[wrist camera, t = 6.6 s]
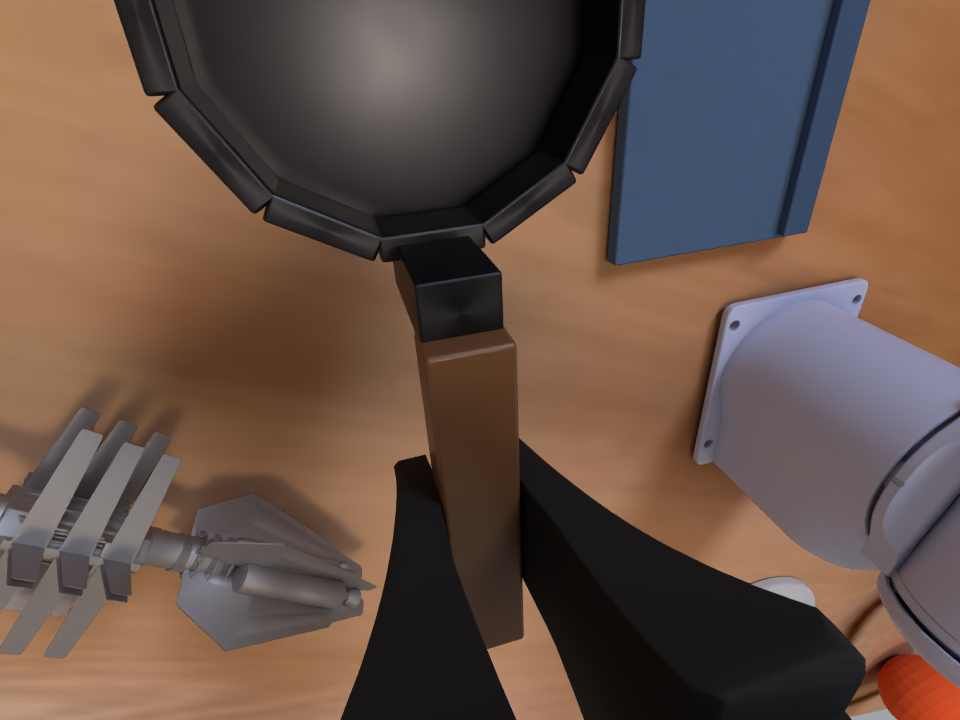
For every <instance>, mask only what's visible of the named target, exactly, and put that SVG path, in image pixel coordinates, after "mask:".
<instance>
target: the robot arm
mask: <svg viewBox="0 0 960 720" xmlns="http://www.w3.org/2000/svg"><path fill="white" fill-rule="evenodd" d="M867 289H868V282H867V281H866V280H863V279H861V278H855V279H850V280H845V281H840V282H835V283H830V284H825V285H820V286H815V287H810V288H805V289H800V290H795V291H790V292H785V293H780V294H776V295H771V296H766V297H761V298H756V299H751V300H746V301H741V302H736V303H732V304H730V305H729V306H727V307H726V308H725V310H724V311H723V314H722V318H721V323H720V328H719V333H718V338H717V343H716V347H715V352H714V357H713V362H712V367H711V372H710V376H709V381H708V386H707V391H706V396H705V401H704V405H703V410H702V415H701V420H700V425H699V430H698V435H697V439H696V444H695V449H694V454H693V459H694V461H695V462H696V463H697V464H699V465H702V464H707V463H710V462H714V463H715V464H716V465H717V466H718V467H719V468H720V469H721V470H722V471H723V472H724V473H725V474H726V475H727V476H728V477H729V478H730V479H731V480H732V481H733V482H734V483H735V484H736V485H737V486H738V487H739V488H740V489H741V490H742V491H743V492H744V493H745V494H746V495H747V496H748V497H749V498H750V499H751V500H752V501H753V502H754V503H755V504H756V505H757V506H758V507H759V508H760V509H761V510H762V511H763V512H764V513H765V514H766V515H767V516H768V517H769V518H770V519H771V520H772V521H773V522H774V523H775V524H776V525H777V526H778V527H779V528H780V529H781V530H782V531H783V532H784V533H785V534H786V535H787V536H788V537H789V538H791V539H792V540H793V541H794V542H795V543H796V544H798V545H799V546H801V547H802V548H804V549H805V550H807V551H808V552H810V553H812V554H814V555H815V556H817V557H820V558H822V559H824V560H826V561H828V562H831V563H833V564H836V565H839V566H842V567H845V568H850V569H856V570H869V571H870V570H881V573H880V575H879V576H878V580H877V588H878V592H879V596H880V598H881V600H882V602H883V605H884V607H885V608H886V610H887V612H888V613H889V615H890V617H891V619H892V621H893V623H894V625H895V626H896V628H897V629H898V631H899V632H900V633H901V635H902V636H903V637H904V638H905V640H906V641H907V642H908V643H909V644H910V645H911V647H912V648H913V649H914V650H915V651H916V652H917V653H918V654H919V655H920V656H921V657H922V658H923V659H924V660H925V661H926V662H927V663H928V664H930V665H931V666H932V667H933V668H934V669H935V670H936V671H938V672H939V673H940V674H941V675H942V676H944V677H945V678H946V679H947V680H949V681H950V682H951V683H953V684H954V685H955V686H957V687H958V688H960V368H959V367H957V366H955V365H953V364H951V363H949V362H947V361H945V360H943V359H941V358H939V357H937V356H935V355H933V354H931V353H929V352H927V351H925V350H922V349H920V348H918V347H916V346H914V345H912V344H910V343H908V342H906V341H904V340H902V339H900V338H898V337H896V336H894V335H892V334H890V333H888V332H886V331H884V330H882V329H880V328H878V327H875V326H873V325H871V324H869V323H867V322H865V321H863V320H861V319H859V318H857V317H858V314H859V311H860V309H861V306H862V303H863V300H864V297H865V294H866V292H867ZM732 322H733V324H732ZM731 324H732V325H731ZM730 325H731V326H730ZM394 469H395V475H396V483H397V500H396V515H395V525H394V534H393V542H392V548H391V553H390V559H389V564H388V570H387V575H386V580H385V584H384V589H383V593H382V597H381V601H380V605H379V608H378V612H377V616H376V620H375V623H374V626H373V630H372V633H371V636H370V639H369V643H368V646H367V649H366V652H365V655H364V658H363V661H362V664H361V667H360V670H359V673H358V675H357V678H356V681H355V683H354V686H353V688H352V691H351V694H350V696H349V699H348V702H347V704H346V707H345V709H344V712H343V715H342V717H341V720H516V718H515V716H514V713H513V711H512V709H511V706H510V704H509V702H508V699H507V697H506V695H505V692H504V690H503V688H502V685H501V683H500V681H499V678H498V676H497V673H496V671H495V668H494V666H493V663H492V661H491V658H490V656H489V653H488V651H487V648H486V646H485V643H484V641H483V639H482V636H481V633H480V631H479V628H478V626H477V623H476V620H475V618H474V615H473V612H472V610H471V607H470V605H469V602H468V599H467V597H466V594H465V591H464V588H463V586H462V583H461V580H460V577H459V575H458V572H457V569H456V566H455V563H454V560H453V556H452V553H451V549H450V545H449V540H448V536H447V531H446V526H445V522H444V517H443V513H442V508H441V503H440V499H439V494H438V491H437V488H436V485H435V482H434V479H433V473H432V469H431V466H430V464H429V462H428V460H427V457H426V455H422V456H418V457H414V458H409V459H405V460H401V461H398V462H397V463H396V464H395V466H394ZM519 470H520V510H521V549H522V578H523V580H524V582H525V584H526V586H527V588H528V590H529V592H530V594H531V596H532V597H533V599H534V601H535V603H536V605H537V607H538V609H539V611H540V613H541V615H542V617H543V619H544V621H545V623H546V625H547V627H548V630H549V632H550V634H551V636H552V638H553V641H554V643H555V645H556V647H557V650H558V652H559V655H560V658H561V660H562V663H563V665H564V668H565V671H566V673H567V676H568V678H569V681H570V683H571V686H572V689H573V691H574V694H575V697H576V699H577V702H578V705H579V707H580V710H581V713H582V715H583V718H584V720H851V718H850V717H849V716H848V715H847V714H846V712H845V710H846V708H847V706H848V705H849V703H850V701H851V699H852V698H853V696H854V694H855V693H856V691H857V689H858V688H859V686H860V684H861V683H862V680H863V678H864V676H865V673H866V666H865V658H864V657H863V656H862V655H861V653H860V652H859V651H858V650H857V649H856V648H855V647H854V646H853V645H852V643H851V642H850V641H849V640H848V639H847V638H846V637H845V636H844V635H843V633H842V632H841V631H840V630H839V629H838V628H837V627H836V626H835V625H834V624H833V623H832V622H831V621H830V620H829V619H828V618H827V617H826V616H825V615H824V614H823V613H822V612H821V611H820V610H819V609H817V608H816V607H813V606H811V605H808V604H805V603H802V602H799V601H796V600H794V599H791V598H788V597H785V596H782V595H779V594H776V593H774V592H771V591H768V590H765V589H762V588H760V587H757V586H754V585H752V584H749V583H747V582H745V581H742V580H740V579H737V578H735V577H733V576H730V575H728V574H725V573H723V572H721V571H718V570H716V569H714V568H712V567H710V566H707V565H705V564H703V563H701V562H699V561H697V560H695V559H693V558H691V557H689V556H687V555H685V554H683V553H681V552H679V551H677V550H675V549H673V548H671V547H669V546H667V545H665V544H663V543H661V542H660V541H658V540H656V539H654V538H652V537H651V536H649V535H647V534H646V533H644V532H642V531H641V530H639V529H637V528H636V527H634V526H632V525H631V524H629V523H628V522H626V521H624V520H623V519H621V518H620V517H618V516H617V515H615V514H614V513H612V512H611V511H609V510H608V509H606V508H605V507H604V506H602V505H601V504H599V503H598V502H596V501H595V500H594V499H592V498H591V497H590V496H588V495H587V494H586V493H584V492H583V491H582V490H580V489H579V488H578V487H576V486H575V485H574V484H573V483H571V482H570V481H569V480H567V479H566V478H565V477H564V476H562V475H561V474H560V473H559V472H557V471H556V470H555V469H554V468H553V467H551V466H550V465H549V464H548V463H547V462H546V461H544V460H543V459H542V458H541V457H540V456H539V455H537V454H536V453H535V452H534V451H533V450H532V449H531V448H530V447H528V446H527V445H526V444H525V443H524V442H523V441H522V440H521V439H520V438H519Z"/></svg>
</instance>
